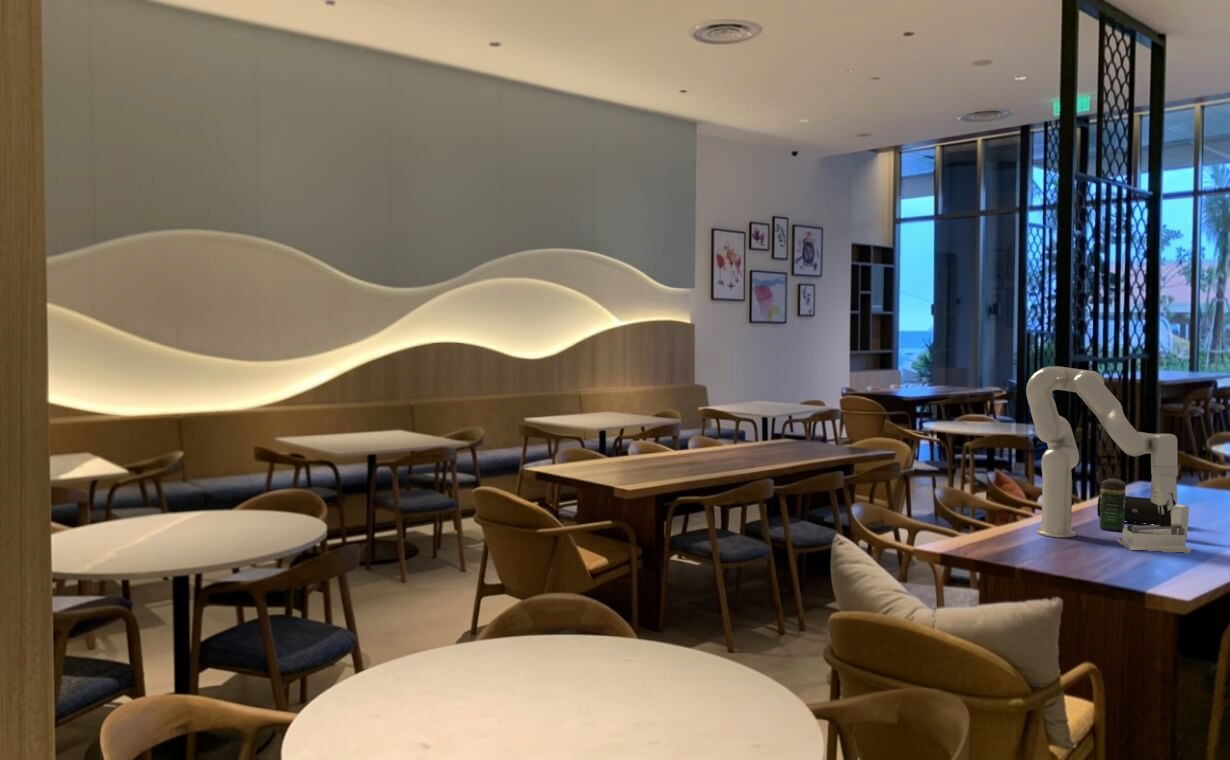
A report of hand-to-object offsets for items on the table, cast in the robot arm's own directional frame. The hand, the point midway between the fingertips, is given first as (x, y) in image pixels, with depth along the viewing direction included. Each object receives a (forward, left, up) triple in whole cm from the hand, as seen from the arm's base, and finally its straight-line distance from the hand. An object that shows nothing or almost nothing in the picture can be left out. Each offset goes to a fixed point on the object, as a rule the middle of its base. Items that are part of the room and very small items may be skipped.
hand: (1164, 525), depth 302 cm
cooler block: (-1, -3, -8) cm, 8 cm away
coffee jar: (-31, -6, -8) cm, 32 cm away
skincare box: (-17, +10, -8) cm, 21 cm away
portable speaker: (-45, +7, -8) cm, 46 cm away
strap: (-1, -3, -1) cm, 3 cm away
